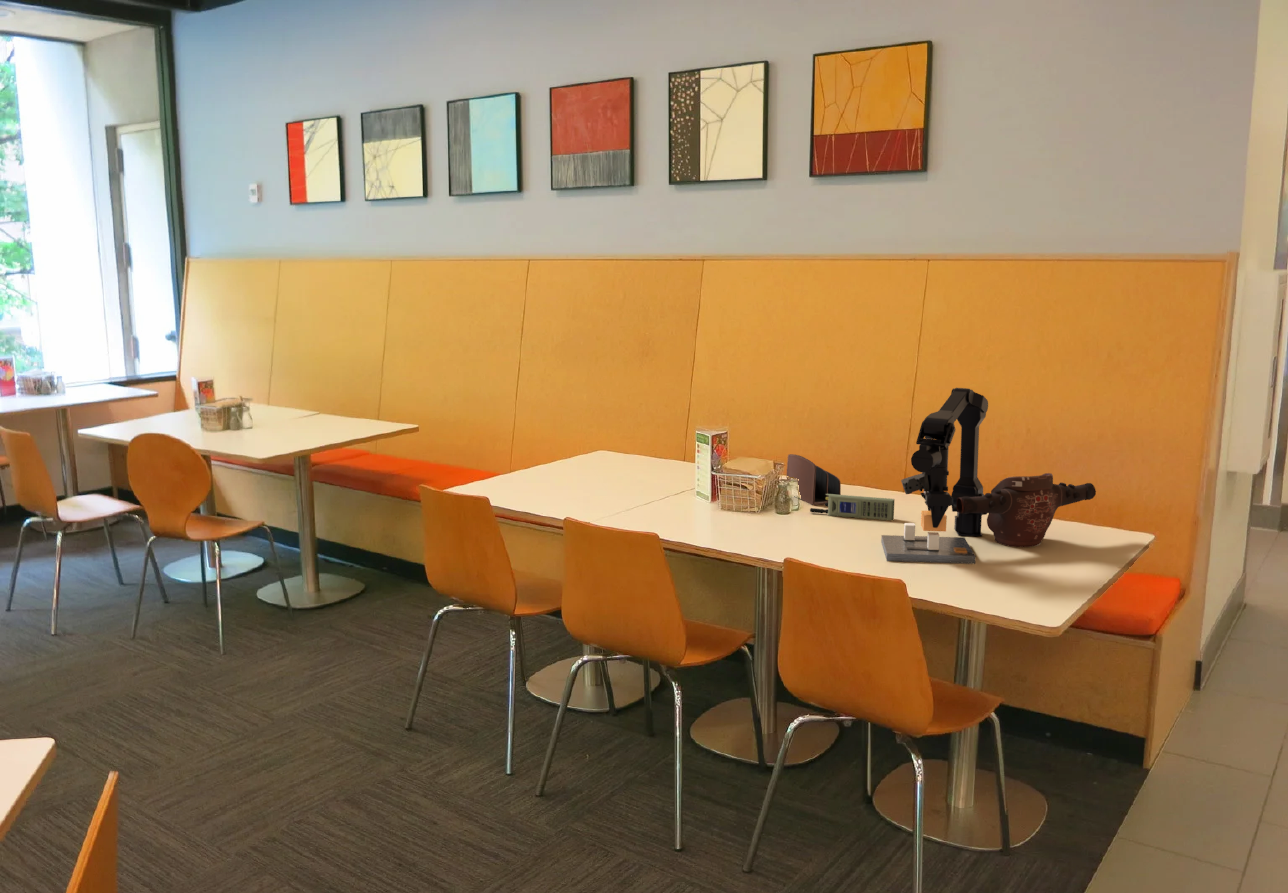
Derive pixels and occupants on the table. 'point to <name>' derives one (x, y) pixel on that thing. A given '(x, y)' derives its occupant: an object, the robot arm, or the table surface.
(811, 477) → the letter holder
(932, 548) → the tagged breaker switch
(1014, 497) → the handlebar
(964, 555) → the breaker panel
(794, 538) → the table surface
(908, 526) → the switch
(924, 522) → the cap
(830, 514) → the handheld radio
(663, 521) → the table surface
